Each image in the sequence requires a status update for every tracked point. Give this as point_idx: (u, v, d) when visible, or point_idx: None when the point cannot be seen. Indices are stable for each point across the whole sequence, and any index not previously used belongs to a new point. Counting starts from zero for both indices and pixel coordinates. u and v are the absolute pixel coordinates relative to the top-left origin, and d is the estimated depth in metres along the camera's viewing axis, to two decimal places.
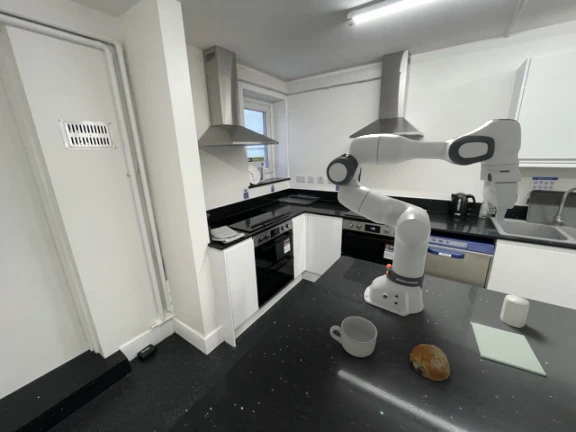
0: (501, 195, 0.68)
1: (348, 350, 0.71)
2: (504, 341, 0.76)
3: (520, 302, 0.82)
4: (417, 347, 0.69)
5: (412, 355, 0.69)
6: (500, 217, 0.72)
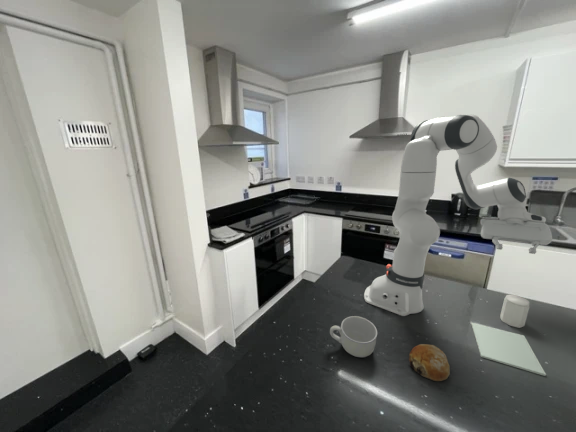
0: None
1: (348, 350, 0.71)
2: (504, 341, 0.76)
3: (520, 302, 0.82)
4: (417, 347, 0.69)
5: (412, 355, 0.69)
6: None
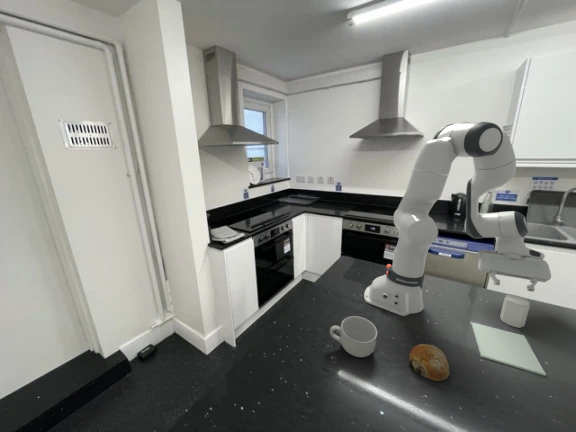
0: None
1: (348, 350, 0.71)
2: (504, 341, 0.76)
3: (520, 302, 0.82)
4: (417, 347, 0.69)
5: (411, 355, 0.69)
6: None
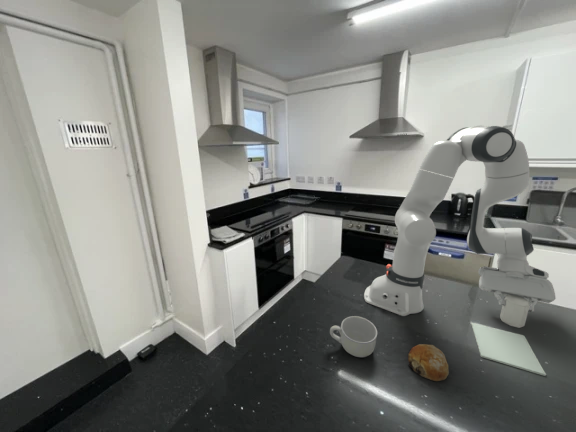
0: None
1: (348, 350, 0.71)
2: (504, 341, 0.76)
3: (520, 302, 0.82)
4: (416, 347, 0.69)
5: (411, 355, 0.69)
6: None
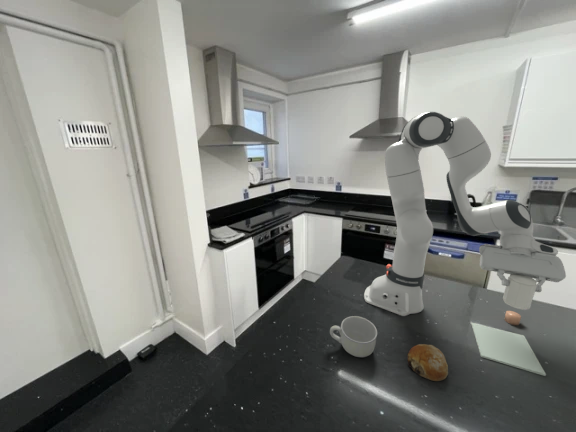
0: None
1: (348, 350, 0.71)
2: (504, 341, 0.76)
3: (526, 281, 0.73)
4: (416, 347, 0.69)
5: (410, 355, 0.69)
6: None
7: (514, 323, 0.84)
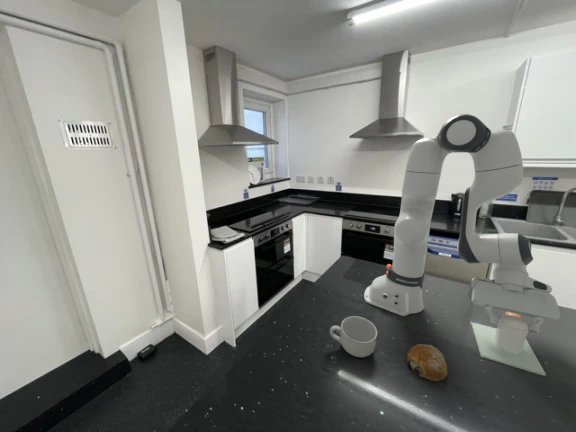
0: None
1: (348, 350, 0.71)
2: None
3: (517, 325, 0.71)
4: (415, 347, 0.69)
5: (409, 355, 0.69)
6: None
7: None
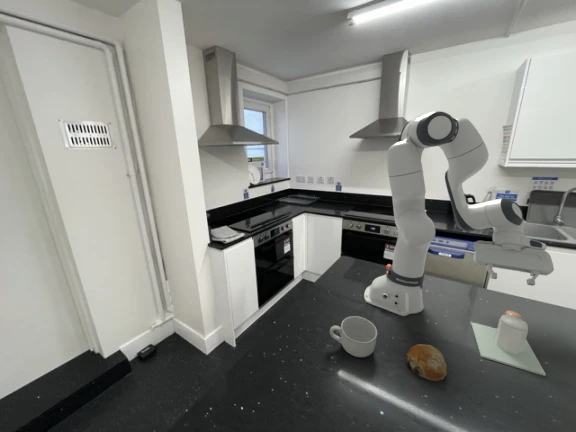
0: None
1: (348, 350, 0.71)
2: None
3: (517, 325, 0.71)
4: (414, 347, 0.69)
5: (409, 355, 0.69)
6: None
7: None
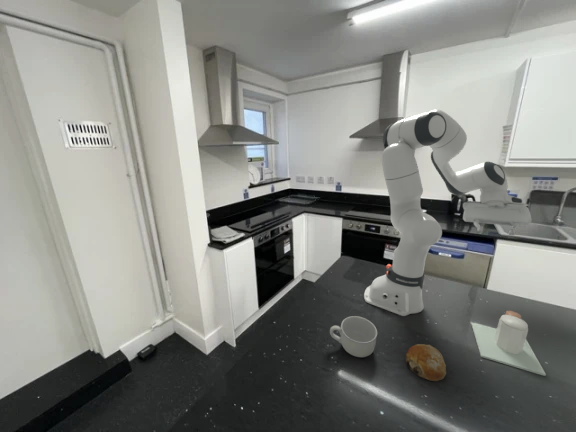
0: None
1: (348, 350, 0.71)
2: None
3: (517, 325, 0.71)
4: (414, 347, 0.69)
5: (408, 355, 0.69)
6: None
7: None
